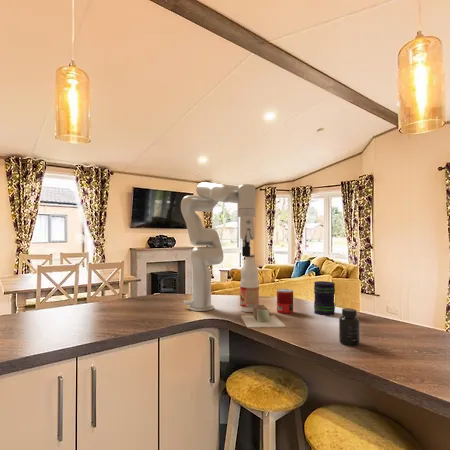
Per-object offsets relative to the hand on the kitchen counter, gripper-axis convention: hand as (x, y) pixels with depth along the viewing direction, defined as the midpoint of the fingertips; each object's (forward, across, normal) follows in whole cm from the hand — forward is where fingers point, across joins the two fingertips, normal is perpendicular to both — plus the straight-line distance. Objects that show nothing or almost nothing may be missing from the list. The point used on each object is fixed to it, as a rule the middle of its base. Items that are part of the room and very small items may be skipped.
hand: (246, 256), depth 137 cm
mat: (+29, +4, -8) cm, 30 cm away
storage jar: (+29, +17, -42) cm, 54 cm away
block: (+26, +2, -8) cm, 27 cm away
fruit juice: (+29, +25, -6) cm, 39 cm away
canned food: (+29, +20, -23) cm, 42 cm away
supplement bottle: (+29, -26, -33) cm, 51 cm away
